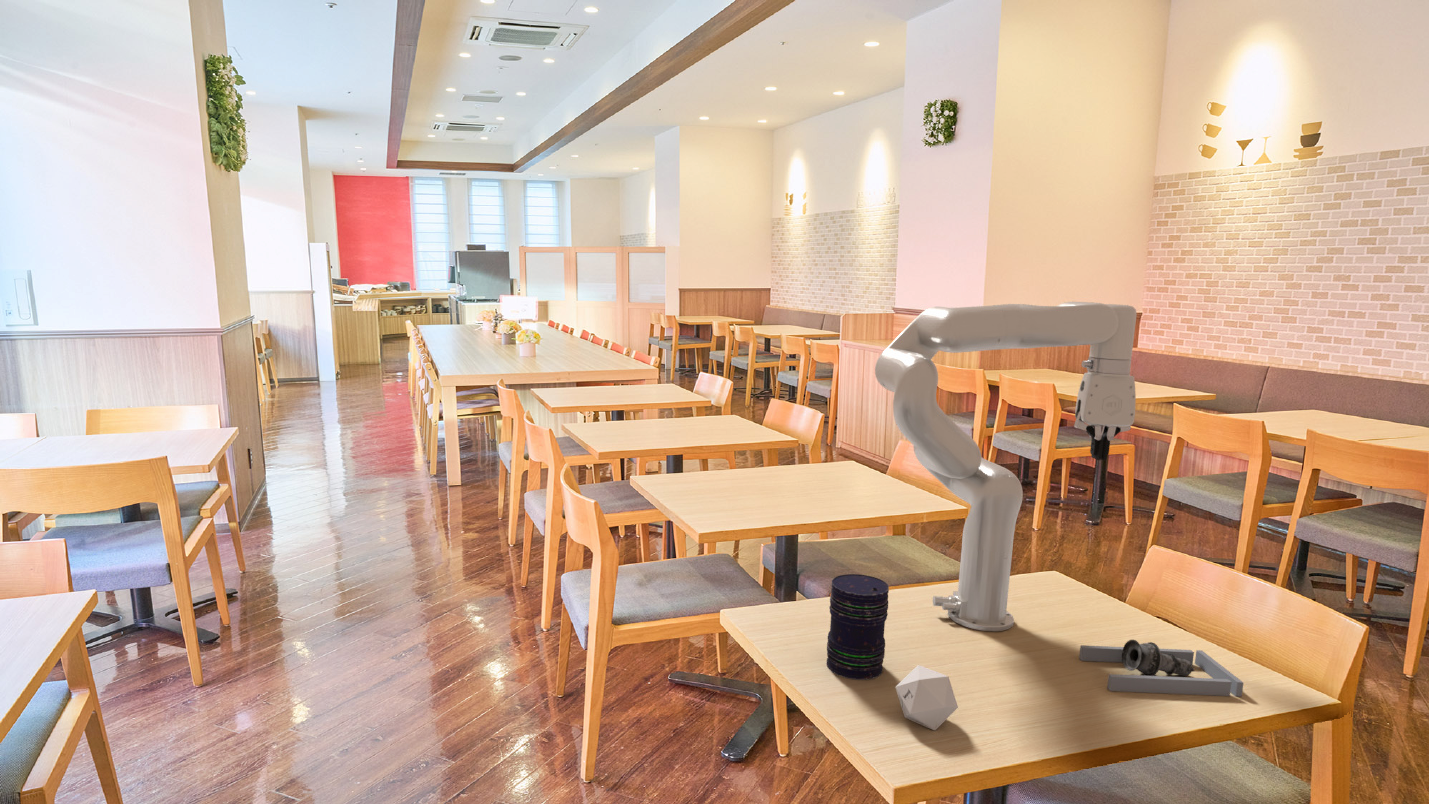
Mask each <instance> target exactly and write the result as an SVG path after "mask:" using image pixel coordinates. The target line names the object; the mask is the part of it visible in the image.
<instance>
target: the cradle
mask: <svg viewBox="0 0 1429 804" xmlns="http://www.w3.org/2000/svg"><path fill="white" fill-rule="evenodd" d="M1079 646H1080V649H1079V656H1078V657H1079V658H1078V659H1079V660H1080V661H1082V662H1099V663H1101V662H1104V663H1122V664H1123V662H1122V651H1123V648H1124V646H1105V645H1104V646H1103V645H1086V644H1083V645H1082V644H1081V645H1079ZM1159 649H1160V651H1161V653H1162V654H1166V655H1168V654H1173V655H1174V656H1175V657H1176V658H1180V659H1184V660H1187V661H1189V662H1190V663H1191V665H1192V666H1193V663H1194V664H1195V665H1196V666H1198V667H1199V668H1200V669H1201V670H1202V671H1204V672H1205V673H1206V674H1207V675H1209V676H1210V677H1211V678H1208V677H1190V676H1189V677H1187V676H1165V675H1164V676H1161V675H1154V676H1145V675H1139V674H1137V675H1135V674H1119V673H1118V674H1116V673H1114V674H1113V673H1112V674H1111V673H1108V679H1107V687H1106V688H1107V690H1109V691H1110V692H1125V693H1146V694H1147V693H1151V694H1152V693H1153V694H1170V695H1171V694H1172V695H1173V694H1174V695H1176V694H1177V695H1194V696H1195V695H1197V696H1219V697H1220V696H1221V697H1224V696H1225V697H1230V695H1231V694H1232V695H1233V696H1234V697H1240V698H1241V697H1242V695H1243V690H1244V689H1243V688H1244V682H1243V681H1242V680H1241V679H1240V678H1238V677H1237V676H1236V675H1234V674H1233V673H1232V672H1231V671H1230V670H1228V669H1226V668H1225V666H1223V665H1221V664H1220V663H1219V662H1218V661H1216V660H1215V659H1213V657H1211V656H1210V655H1208V653H1206V652H1205V651H1204V650H1200V649H1199V650H1198V649H1197V650H1195V651H1196V652H1194V651H1193V650H1191V649H1181V648H1180V649H1178V648H1177V649H1176V648H1159ZM1194 654H1195V655H1194ZM1194 656H1195V657H1194ZM1194 658H1195V659H1194ZM1193 661H1194V662H1193Z"/></svg>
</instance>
